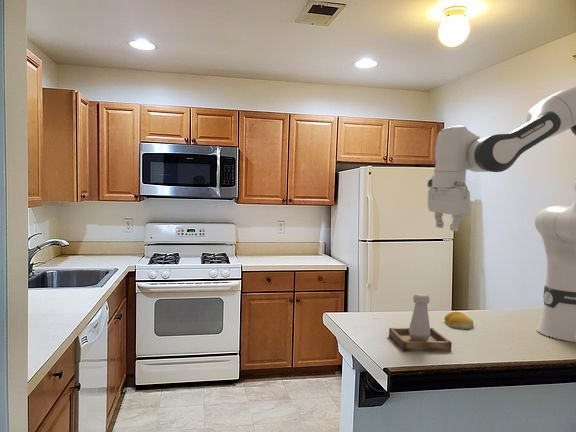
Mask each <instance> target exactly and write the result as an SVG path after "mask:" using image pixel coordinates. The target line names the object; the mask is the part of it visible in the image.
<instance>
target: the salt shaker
mask: <svg viewBox="0 0 576 432" xmlns="http://www.w3.org/2000/svg"><path fill="white" fill-rule="evenodd" d="M412 298H413V299H412V300H413V303H415V304H414V307H413V311H412V316H411V320H410V323H409V327H408V328H409V334H410V337H411V340H412V341H428V339H429V337H430V334H431V333H430V328H431V326H430V320H429V319H430V318H429V311H428V304H429V303H430V296H429V295H428V294H427V293H421V292H417V293H415V294H413V297H412Z"/></svg>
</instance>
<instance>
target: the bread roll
mask: <svg viewBox="0 0 576 432" xmlns="http://www.w3.org/2000/svg"><path fill="white" fill-rule="evenodd" d="M444 322H445V324H447V325H448V326H449V328H453V329H462V330H470V329H472V328H473V327H474V321H473V318H471V317H469V316H467V315H466V314H465V313H463V312H461V311H451V312H449V313H447V314H446V315H445V316H444Z"/></svg>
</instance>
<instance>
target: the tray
mask: <svg viewBox="0 0 576 432" xmlns="http://www.w3.org/2000/svg"><path fill="white" fill-rule="evenodd" d="M430 333H431V334H430V337H429V339H428V341H412V340H411V337H410V334H409V327H389V330H388V338H390V339H391V340H392V341H393V342H394V343H395V344H396V345H397V346H398V347H399V348H400V350H402V351H403V352H452V343H453V342H452V341H451V340H449V339H448V338H447V337H446V336H444V335H443V334H442V333H440V332H439V331H437V330H436V329H435V328H433V327H430Z"/></svg>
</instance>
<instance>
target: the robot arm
mask: <svg viewBox="0 0 576 432" xmlns="http://www.w3.org/2000/svg"><path fill="white" fill-rule="evenodd" d="M567 130H570V131H571V132H572V133H573V135H574V136H576V85H575V86H571V87H568V88H566V89H562V90H559V91H558V92H556V93H554V94H551V95H550V96H548V97H546V98H544V99H542V100H541V101H539V102H538V103H537V104H535V105H533V107H531V108H530V109H529V110H528V112H527V116H526V123H524V124H523V125H521V126H520V127H518V128H516V129H514V130H513V131H511V132H509V133H501V134H500V133H498V134H493V135H490V136H487V137H481V136H480V135H476V134H475V133H473V132H472V131H470V130H469V129H468V128H467V127H466V126H465V125H455V126H453V125H452V126H450V127H449V126H448V127H445V128H443V129H441V130H440V131H439V132H438V134H437V137H436V140H435V141H436V144H435V149H434V150H435V152H434V159H435V166H434V170H433V176H432V177H431V178H429V179H428V180H427V182H426V183H427V184H426V186H427V188H428V192H427V209H428V211H429V212H432V213H434V220H435V227H436V228H438V229H440V228H441V229H443V228H444V223H445V222H444V221H443V216H444V214H446V215H451V219H452V222H451V223H450V225H449V230H450V231H451V232H458V231H459V225H460V223H461V221H462V216H464V217H465V216H466V217H467V216H469V214H470V213H471V193H470V190H469V189H468V186H467V184H466V181H467V171H471V172H473V173H474V172H475V173H479V172H481V173H485V172H489V173H492V172H493V173H501V172H504V171H506V170H508V169H510V168H511V167H512V166H513V165H514V163H515V162H516V161H517V160H518V158H519V157H520V156H521V155H522V154H523V153H525V152H526V151H528V150H529V149H532V148H533V147H535V146H536V145H538V144H539V143H541V142H542V141H544V140H546V139H549V138H552V137H555V136H557V135H559V134H561V133H563V132H566V131H567ZM573 188H574V191H576V178H575V180H574V182H573ZM534 225H535V228H536V230H537V232H538V233H539V234H540V236H541V238H542V242H543V246H544V249H545V254H546V263H547V264H546V282H545V285H544V289H543V296H542V297H543V308H542V311H541V316H540V320H539V322H538V325H537V327H536V332H538V333H539V334H542V335H544V336H547V337H549V336H550V338H552V337H553V339H556V338H557V339H556V340H561V339H562V340H561V341H567V342H572V343H576V195H575V197H574V200H573V202H572V204H570V205H561V204H560V205H559V204H558V205H557V204H556V205H551V206H548V207H545V208H544V207H543V208H542V209H541V210H540V211H539V212H537V214H536V216H535V218H534Z"/></svg>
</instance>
